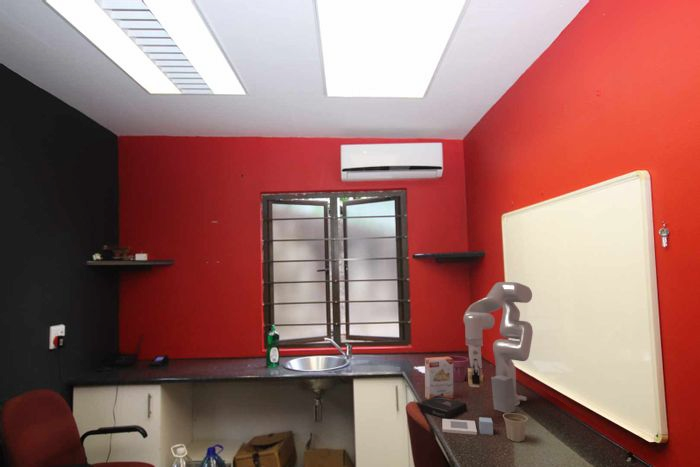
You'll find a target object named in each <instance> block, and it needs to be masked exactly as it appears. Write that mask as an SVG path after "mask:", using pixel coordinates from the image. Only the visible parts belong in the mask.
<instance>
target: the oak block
mask: <svg viewBox="0 0 700 467" xmlns="http://www.w3.org/2000/svg"><path fill="white" fill-rule="evenodd" d="M474 370H475V369H474ZM472 375H473V372H472V368H471V367H470V368H469V367H467V379H468V380H467V381H468V382H467V383H468V385H469V386H475V387H476V386H480V387H481V386H482V387H483V386H484V380H483V377H484V376H483V375H484V374H483V370H482V368H481V369H480V368H479V375H480V384H473V383H472Z"/></svg>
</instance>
